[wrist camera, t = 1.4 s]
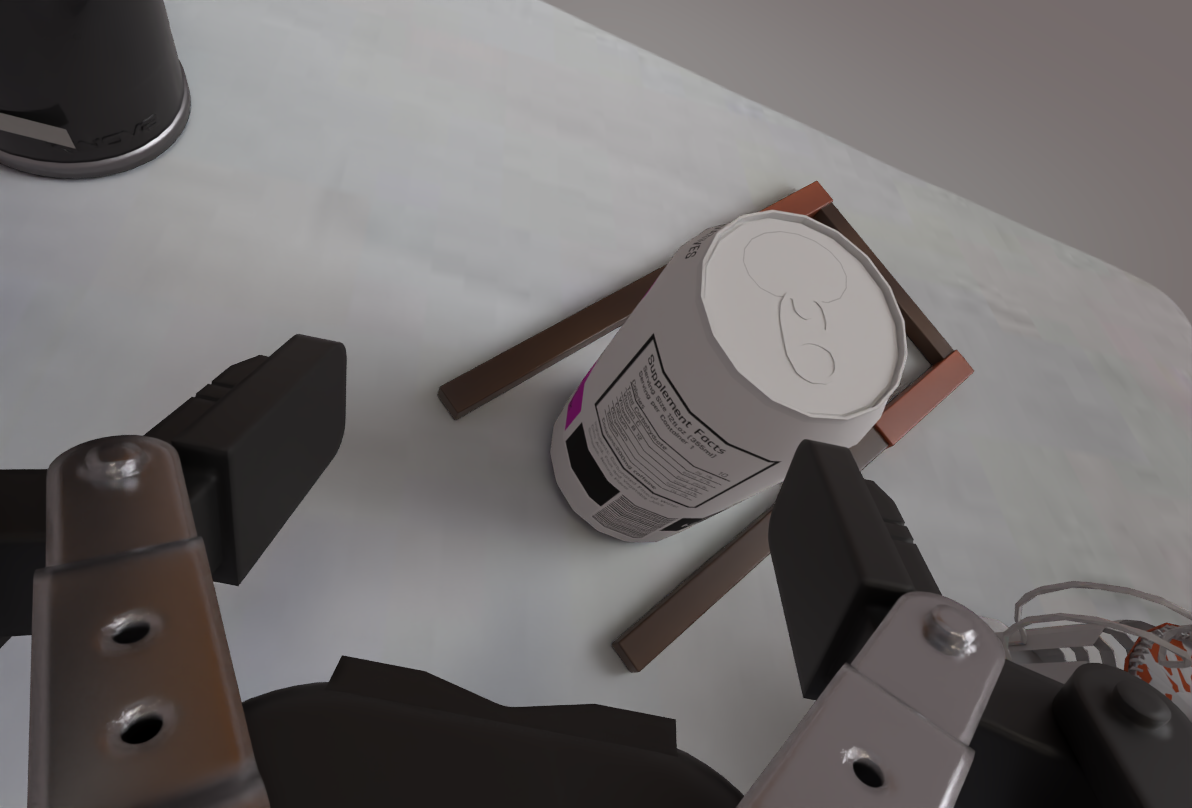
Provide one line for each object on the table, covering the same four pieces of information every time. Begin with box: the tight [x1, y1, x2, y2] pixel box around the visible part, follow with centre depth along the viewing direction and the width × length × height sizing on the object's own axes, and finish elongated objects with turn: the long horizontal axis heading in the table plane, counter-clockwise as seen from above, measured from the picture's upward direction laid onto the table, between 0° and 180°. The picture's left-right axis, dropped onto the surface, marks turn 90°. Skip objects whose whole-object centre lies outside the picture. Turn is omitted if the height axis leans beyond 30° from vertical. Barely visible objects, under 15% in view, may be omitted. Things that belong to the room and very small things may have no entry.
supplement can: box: [550, 210, 908, 542], centre depth 27 cm, size 8×8×15 cm
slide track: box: [437, 181, 974, 673], centre depth 37 cm, size 15×28×1 cm, turn 128°
